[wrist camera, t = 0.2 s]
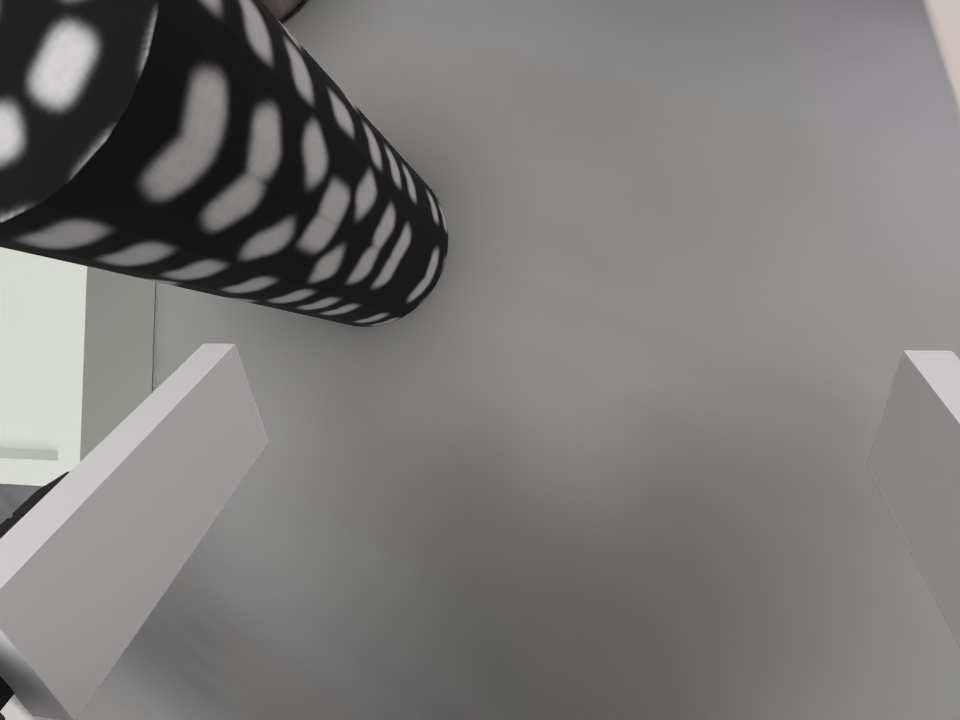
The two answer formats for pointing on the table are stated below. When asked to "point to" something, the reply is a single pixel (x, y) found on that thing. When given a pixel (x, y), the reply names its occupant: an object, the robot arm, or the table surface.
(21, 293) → the tray
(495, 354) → the table surface
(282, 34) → the spotted tube
